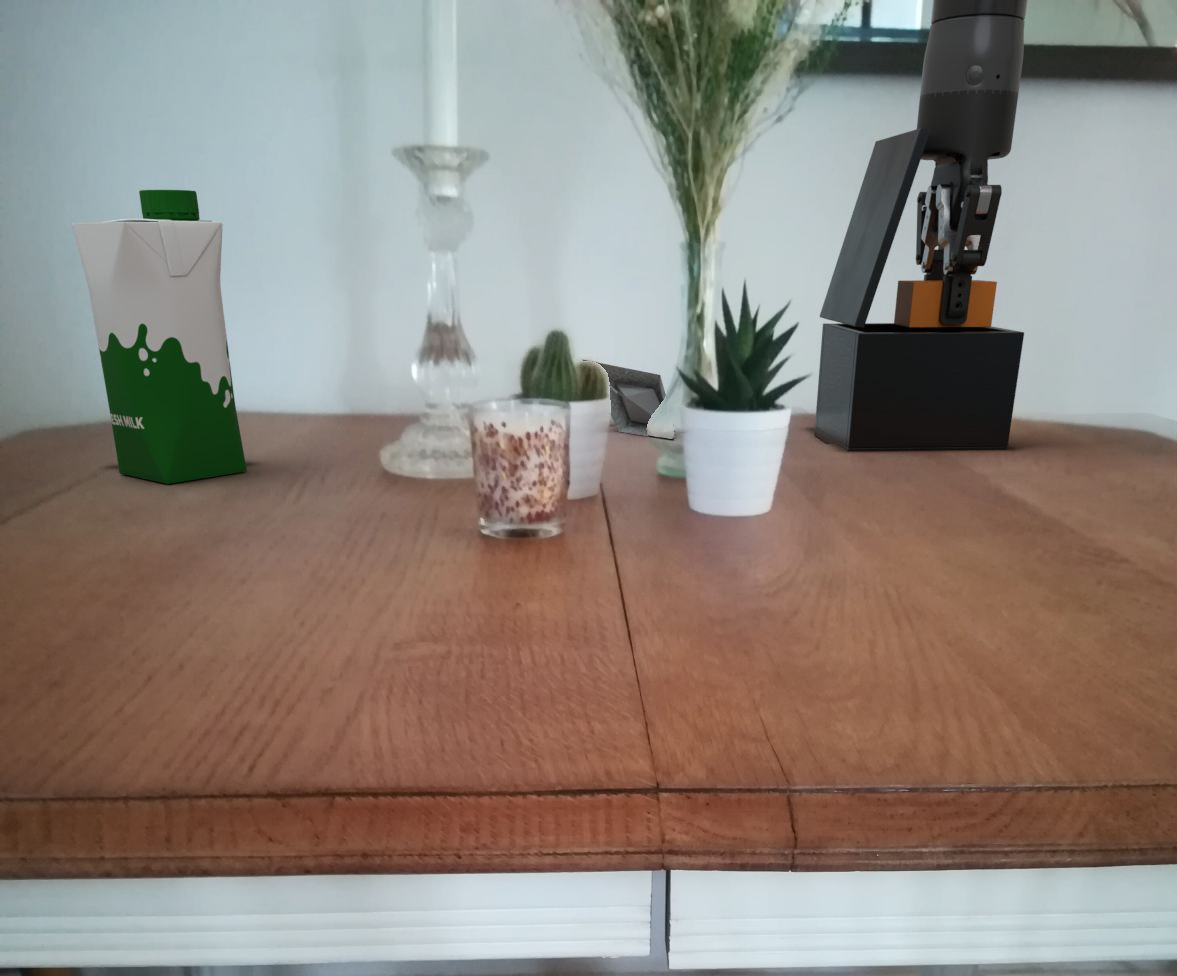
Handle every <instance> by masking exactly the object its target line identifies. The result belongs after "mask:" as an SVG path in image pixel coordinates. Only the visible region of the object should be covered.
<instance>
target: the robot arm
mask: <svg viewBox="0 0 1177 976" xmlns="http://www.w3.org/2000/svg"><path fill="white" fill-rule="evenodd" d="M1027 6H1028V0H932V10H931V18H930V19H931V20H930V26H929V33H928V38H927V42H926V43H927V44H926V47H925V52H924V56H923V64H922V73H921V82H920V93H919V94H920V95H919V103H918V113H917V123H916V129H919V128H923V129H926V130H929V131H930V133H929V136H928V139H927V142H926V145H925V148H924V151H923V154H922V157H921V160H920V161H934V165H935V167H934V170H933V175H932V179H931V182H930V185H928V187H927V189H926V191H919V193H918V195H917V198H916V202H917V203H916V204H917V206H916V207H917V208H916V240H915V241H916V244H915V247H916V248H915V264H916V265H917V266H920V270H921V273H922V274H924V275H923V280H943V284H942V293H941V301H940V310H939V322H940V323H942V324H963V323H965V322H966V320H967V314H968V306H969V298H970V290H971V282H972V280H973V275H974V276H975V275H976V274H977V271H978V268H979V267H985V265H986V263H987V259H988V255H989V252H990V245H991V241H992V236H993V232H994V227H995V224H996V219H997V214H998V209H999V206H1000V201H1001V198H1002V193H1003V192H1002V191H1003V190H1002V189H1003V188H1002V185H1001V184H988V183H989V162H988V161H989V160H996V159H997V160H999V159H1003V158H1007V156H1009V154H1010V153H1011V151H1012V144H1013V138H1014V131H1015V130H1014V129H1015V122H1016V116H1017V115H1016V114H1017V109H1018V100H1019V92H1020V85H1021V79H1022V78H1021V77H1022V71H1023V63H1024V51H1025V50H1024V49H1025V48H1024V47H1025V44H1024V43H1025V40H1024V39H1025V22H1026V21H1025V19H1026V15H1027V14H1026V13H1027ZM936 248H937V249H936ZM966 248H967V249H966Z"/></svg>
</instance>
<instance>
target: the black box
mask: <svg viewBox="0 0 1177 976" xmlns="http://www.w3.org/2000/svg"><path fill="white" fill-rule="evenodd" d="M821 330H822V331H821V343H820V355H819V356H820V357H819V370H818V383H817V396H816V406H815V407H816V408H815V420H814V421H815V422H814V434H813V435H814V436H815V437H816V438H817V439H818V440H820V441H822V442H823V443H825V444H826V445H837V446H839V447H840V448H842V449H843V450H845V451H847V452H855V453H856V452H937V451H938V452H941V451H942V452H943V451H945V452H946V451H1007V450H1008V449H1009V447H1008V446H1009V440H1010V433H1011V426H1012V419H1013V414H1014V406H1015V399H1016V392H1017V385H1018V378H1019V372H1020V365H1021V357H1022V351H1023V344H1024V337H1025V332H1024V331H1021V330H1020V331H1019V330H1014V329H1009V328H1003V327H998V326H992V325H991V327H917V328H909V327H905V326H900V325H895V324H894V322H869V323H867V322H866V323H865V326H864V328H859V327H855V326H852V325H848V324H844V323H840V322H837V323H822V329H821ZM814 436H813V437H814Z"/></svg>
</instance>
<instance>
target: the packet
mask: <svg viewBox="0 0 1177 976" xmlns="http://www.w3.org/2000/svg"><path fill="white" fill-rule="evenodd" d="M942 284H943V280H924V279H923V280H919V279H918V280H897V290H896V299H895V309H894V319H893V323H894V324H895V325H900V326H905V327H909V328H917V327H991V326H992V325H993V324H992V323H993V316H994V308H995V302H996V301H995V300H996V292H997V285H998V281H994V280H980V279H972V282H971V290H970V298H969V306H968V314H967V320H966V322H965V323H963V324H942V323H940V322H939V310H940V301H941V293H942Z"/></svg>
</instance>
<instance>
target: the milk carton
mask: <svg viewBox="0 0 1177 976" xmlns="http://www.w3.org/2000/svg"><path fill="white" fill-rule="evenodd" d="M138 194H139V199H140V209H141V214H142V218H122V219H113V220H104V221H101V222H100V221H99V222H98V221H97V222H96V221H95V222H72V223H71V228H72V231H73V232H72V233H73V235H74V239H75V242H76V245H77V249H78V253H79V257H80V260H81V264H82V267H83V271H84V275H85V278H86V283H87V288H88V293H89V299H90V304H91V310H92V316H93V322H94V328H95V334H96V339H97V344H98V351H99V355H100V356H99V357H100V362H101V368H102V374H103V381H104V386H105V392H106V399H107V404H108V409H109V416H110V422H111V429H112V435H113V441H114V447H115V453H116V459H117V466H118V472H119V474H120V475H125V476H130V477H134V478H139V479H143V480H148V481H153V482H157V483H161V484H166V485H170V484H176V483H184V482H190V481H195V480H202V479H208V478H214V477H221V476H226V475H235V474H240V473H246V472H247V470H248V469H247V464H246V457H245V453H244V446H243V441H242V436H241V435H242V434H241V430H240V429H241V428H240V425H239V419H238V418H239V417H238V413H237V406H236V401H235V400H236V399H235V392H234V385H233V377H232V368H231V361H230V352H229V344H228V337H227V328H226V322H225V313H224V305H223V295H222V289H221V271H222V270H221V269H222V249H223V248H222V247H223V246H222V245H223V244H222V243H223V223H222V222H221V221H213V220H200V219H201V218H200V210H199V209H200V208H199V202H198V195H197V191H196V190H189V189H188V190H187V189H142V190H141V189H140V190H139V192H138Z"/></svg>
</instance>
